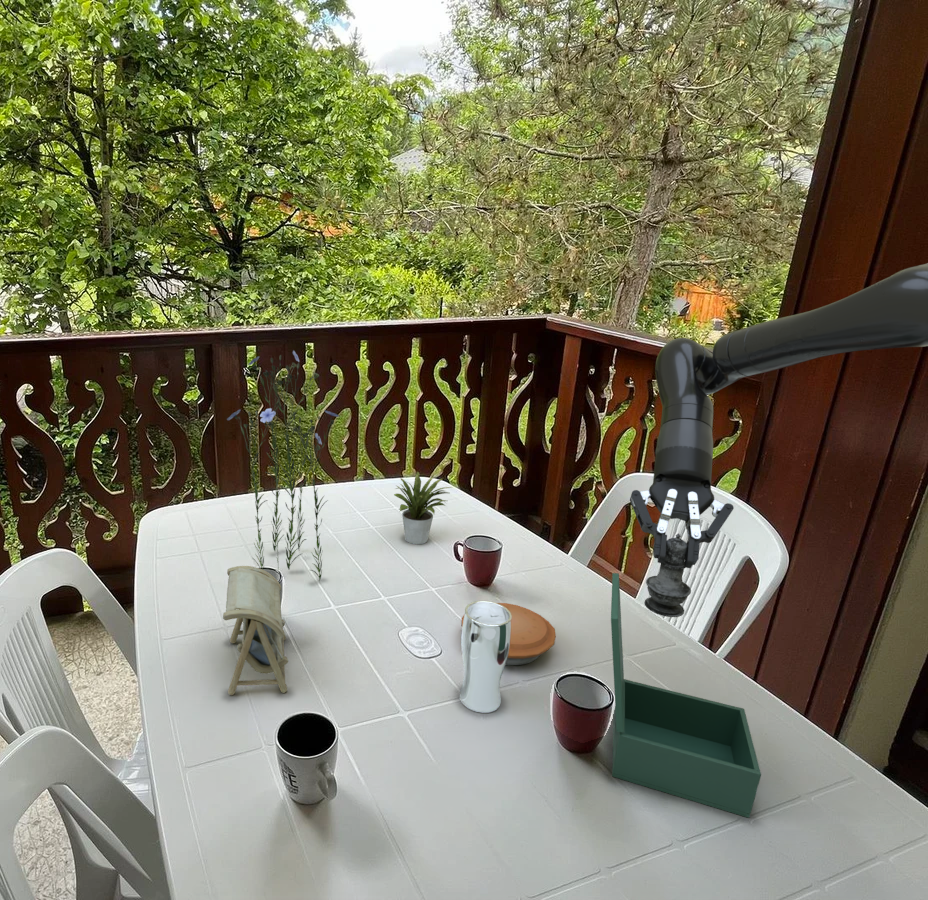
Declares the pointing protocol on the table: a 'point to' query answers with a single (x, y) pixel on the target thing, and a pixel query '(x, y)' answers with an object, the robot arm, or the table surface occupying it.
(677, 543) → the stone chess piece
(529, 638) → the pie
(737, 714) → the green open box
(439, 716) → the table surface
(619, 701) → the lid
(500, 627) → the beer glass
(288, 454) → the wildflower
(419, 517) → the house plant
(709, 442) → the robot arm
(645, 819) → the table surface
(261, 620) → the swing bench
